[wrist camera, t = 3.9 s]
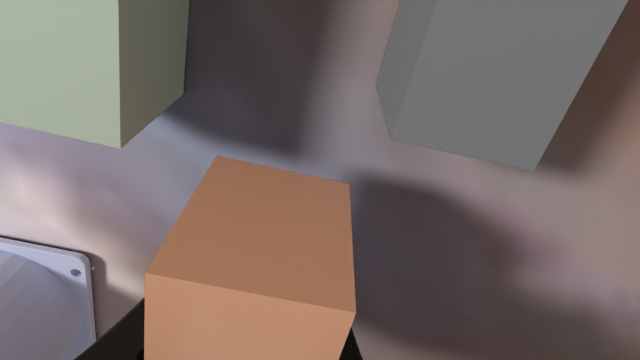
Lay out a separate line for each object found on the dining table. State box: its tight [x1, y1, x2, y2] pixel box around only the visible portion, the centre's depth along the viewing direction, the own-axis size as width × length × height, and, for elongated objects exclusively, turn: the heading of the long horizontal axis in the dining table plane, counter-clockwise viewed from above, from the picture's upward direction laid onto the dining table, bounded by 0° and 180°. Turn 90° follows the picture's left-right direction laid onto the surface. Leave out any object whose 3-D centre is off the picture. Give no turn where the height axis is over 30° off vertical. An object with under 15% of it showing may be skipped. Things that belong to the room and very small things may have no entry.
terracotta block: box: [144, 156, 356, 360], centre depth 12 cm, size 8×4×5 cm, turn 167°
